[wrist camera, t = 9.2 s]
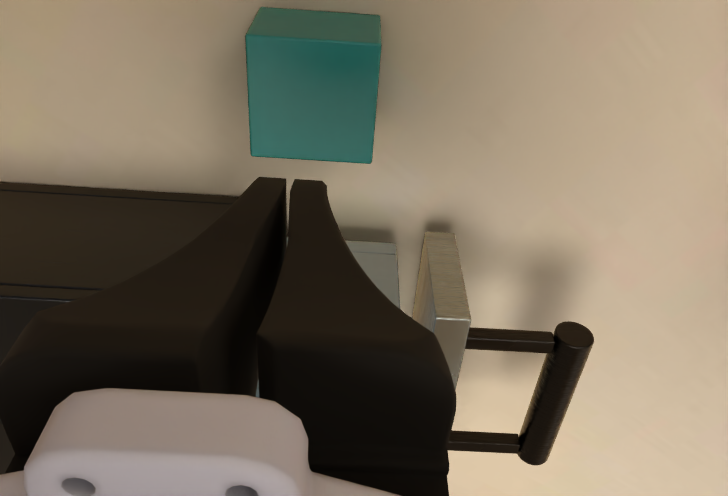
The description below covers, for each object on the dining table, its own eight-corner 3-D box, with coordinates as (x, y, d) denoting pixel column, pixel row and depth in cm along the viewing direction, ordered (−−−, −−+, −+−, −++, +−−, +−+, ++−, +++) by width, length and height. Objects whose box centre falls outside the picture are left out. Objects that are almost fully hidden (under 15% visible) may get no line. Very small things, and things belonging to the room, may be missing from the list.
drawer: (576, 240, 25) (616, 327, 21) (522, 403, 31) (546, 498, 27) (144, 214, 24) (97, 299, 20) (173, 386, 30) (141, 479, 26)
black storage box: (242, 196, 25) (207, 307, 19) (253, 385, 31) (229, 509, 26) (-95, 175, 24) (-228, 284, 19) (-12, 372, 31) (-93, 494, 26)
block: (259, 6, 21) (244, 34, 18) (380, 14, 21) (381, 43, 18) (263, 118, 23) (250, 157, 20) (371, 125, 23) (371, 164, 21)
